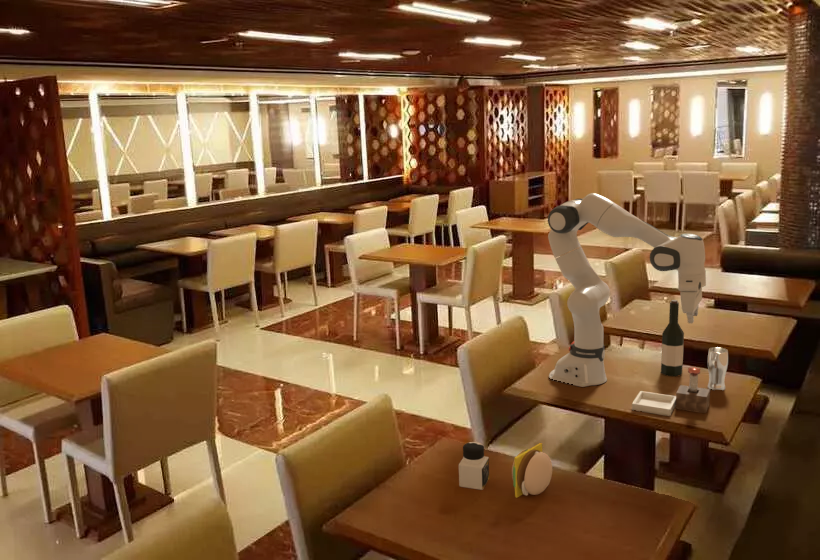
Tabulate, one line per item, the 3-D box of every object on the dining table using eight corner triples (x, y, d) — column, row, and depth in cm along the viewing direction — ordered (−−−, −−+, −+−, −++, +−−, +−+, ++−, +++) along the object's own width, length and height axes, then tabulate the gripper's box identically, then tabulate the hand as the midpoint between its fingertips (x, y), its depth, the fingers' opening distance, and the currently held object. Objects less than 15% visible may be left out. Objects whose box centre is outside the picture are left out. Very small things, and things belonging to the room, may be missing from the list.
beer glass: (722, 384, 272) (724, 347, 268) (729, 391, 265) (731, 353, 262) (703, 384, 272) (705, 347, 269) (709, 391, 266) (711, 353, 262)
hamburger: (532, 504, 194) (532, 464, 192) (508, 494, 200) (507, 455, 198) (557, 487, 202) (558, 449, 200) (534, 478, 208) (533, 440, 206)
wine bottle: (656, 372, 286) (659, 300, 280) (667, 367, 292) (670, 296, 285) (675, 378, 280) (678, 304, 274) (686, 372, 285) (689, 300, 279)
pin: (685, 407, 252) (687, 370, 249) (687, 403, 255) (689, 366, 252) (697, 409, 250) (699, 371, 247) (699, 405, 253) (701, 368, 250)
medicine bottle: (482, 490, 203) (481, 451, 200) (459, 486, 205) (457, 448, 203) (489, 478, 209) (488, 441, 207) (466, 475, 212) (465, 438, 209)
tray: (631, 410, 252) (631, 403, 252) (640, 397, 263) (640, 390, 263) (670, 416, 246) (670, 409, 245) (677, 402, 257) (677, 396, 256)
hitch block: (675, 408, 252) (676, 392, 250) (679, 400, 258) (680, 385, 257) (705, 413, 247) (706, 397, 245) (709, 405, 253) (710, 389, 252)
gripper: (687, 274, 256) (688, 311, 259) (677, 287, 239) (678, 326, 242) (706, 274, 253) (706, 311, 256) (697, 287, 236) (698, 327, 238)
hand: (692, 319), depth 248 cm, fingers open, 8 cm apart
